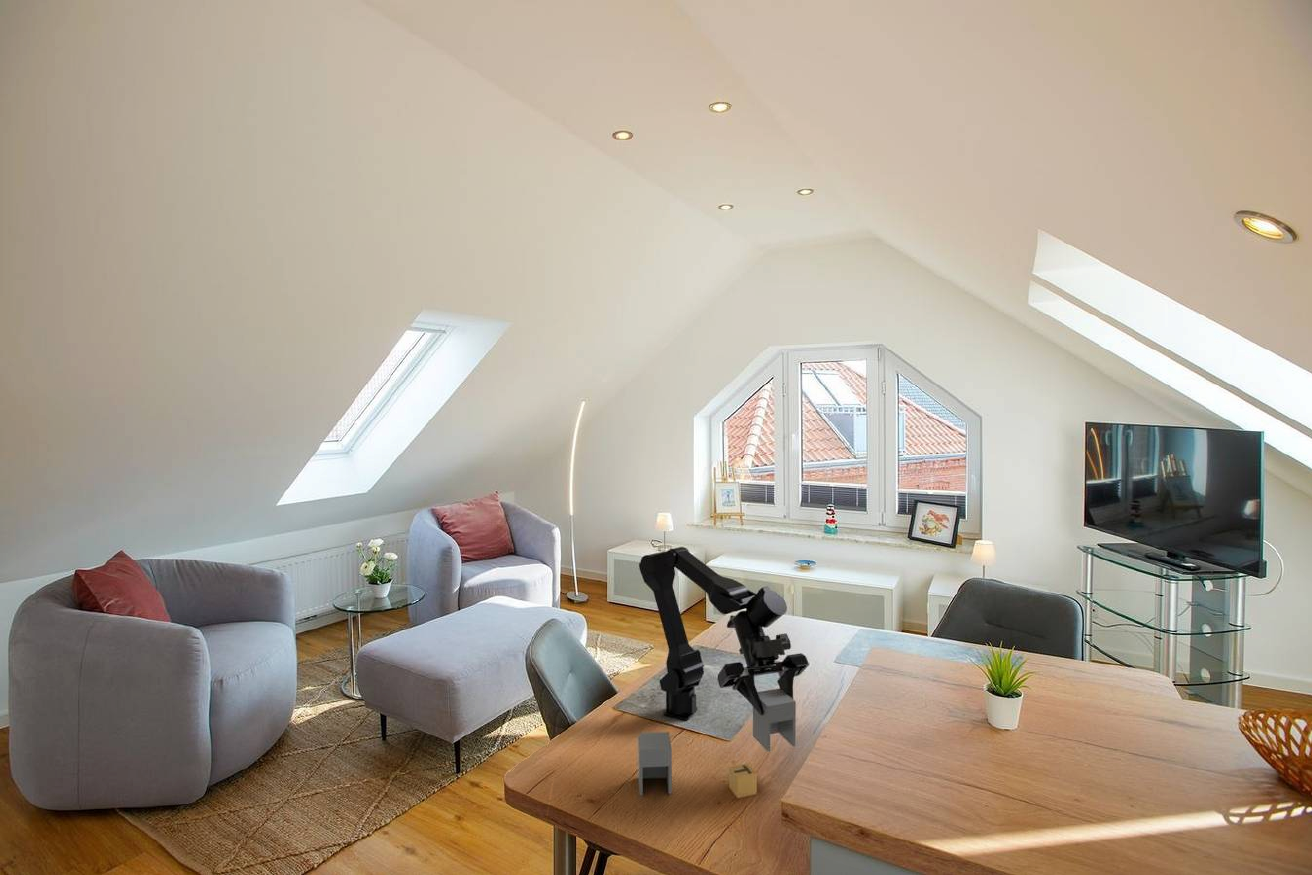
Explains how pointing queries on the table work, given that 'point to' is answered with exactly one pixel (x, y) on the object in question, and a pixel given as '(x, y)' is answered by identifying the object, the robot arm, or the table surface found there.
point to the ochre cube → (742, 780)
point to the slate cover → (654, 758)
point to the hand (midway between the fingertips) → (777, 711)
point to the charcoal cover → (775, 717)
